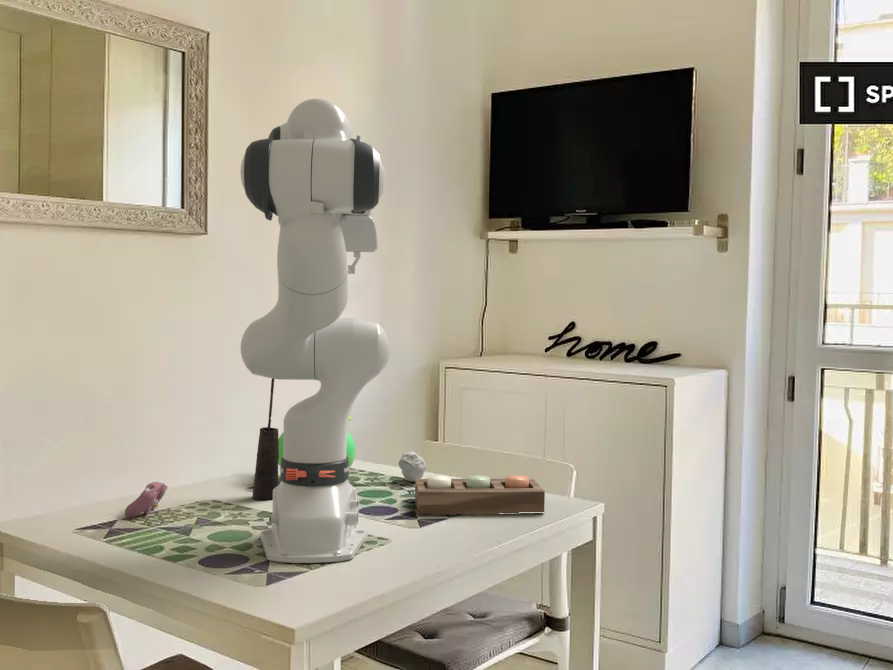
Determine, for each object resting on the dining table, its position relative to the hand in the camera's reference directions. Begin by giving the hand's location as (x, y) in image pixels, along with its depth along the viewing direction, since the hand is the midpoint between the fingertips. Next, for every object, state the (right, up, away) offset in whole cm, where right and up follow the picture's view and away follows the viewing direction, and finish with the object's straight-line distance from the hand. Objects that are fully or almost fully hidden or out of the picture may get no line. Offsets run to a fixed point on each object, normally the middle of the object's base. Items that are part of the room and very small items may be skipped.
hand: (328, 273), depth 187 cm
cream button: (+23, -44, -5) cm, 50 cm away
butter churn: (-14, -47, 0) cm, 49 cm away
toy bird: (-5, -46, +19) cm, 50 cm away
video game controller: (-34, -48, -12) cm, 60 cm away
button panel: (+31, -48, -4) cm, 57 cm away
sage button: (+31, -44, -4) cm, 54 cm away
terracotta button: (+39, -45, -3) cm, 59 cm away
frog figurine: (+17, -47, +19) cm, 53 cm away
